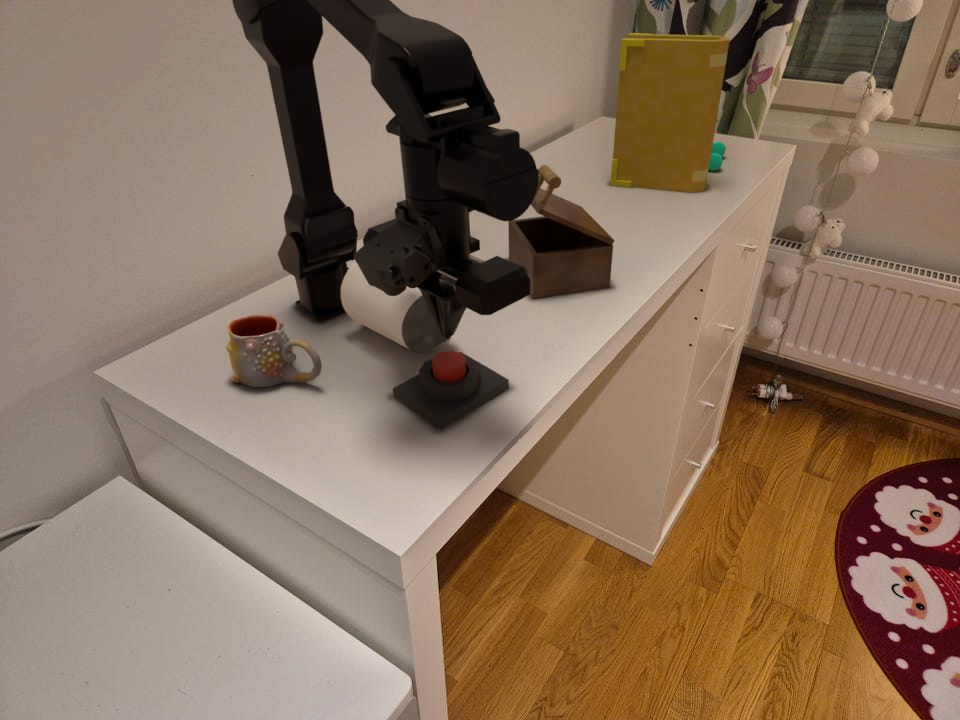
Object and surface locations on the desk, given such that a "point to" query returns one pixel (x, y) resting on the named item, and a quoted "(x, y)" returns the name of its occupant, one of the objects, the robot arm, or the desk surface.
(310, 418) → the desk surface
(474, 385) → the button block
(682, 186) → the book
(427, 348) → the cup
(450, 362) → the red button
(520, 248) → the chest
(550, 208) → the lid
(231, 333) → the mug
